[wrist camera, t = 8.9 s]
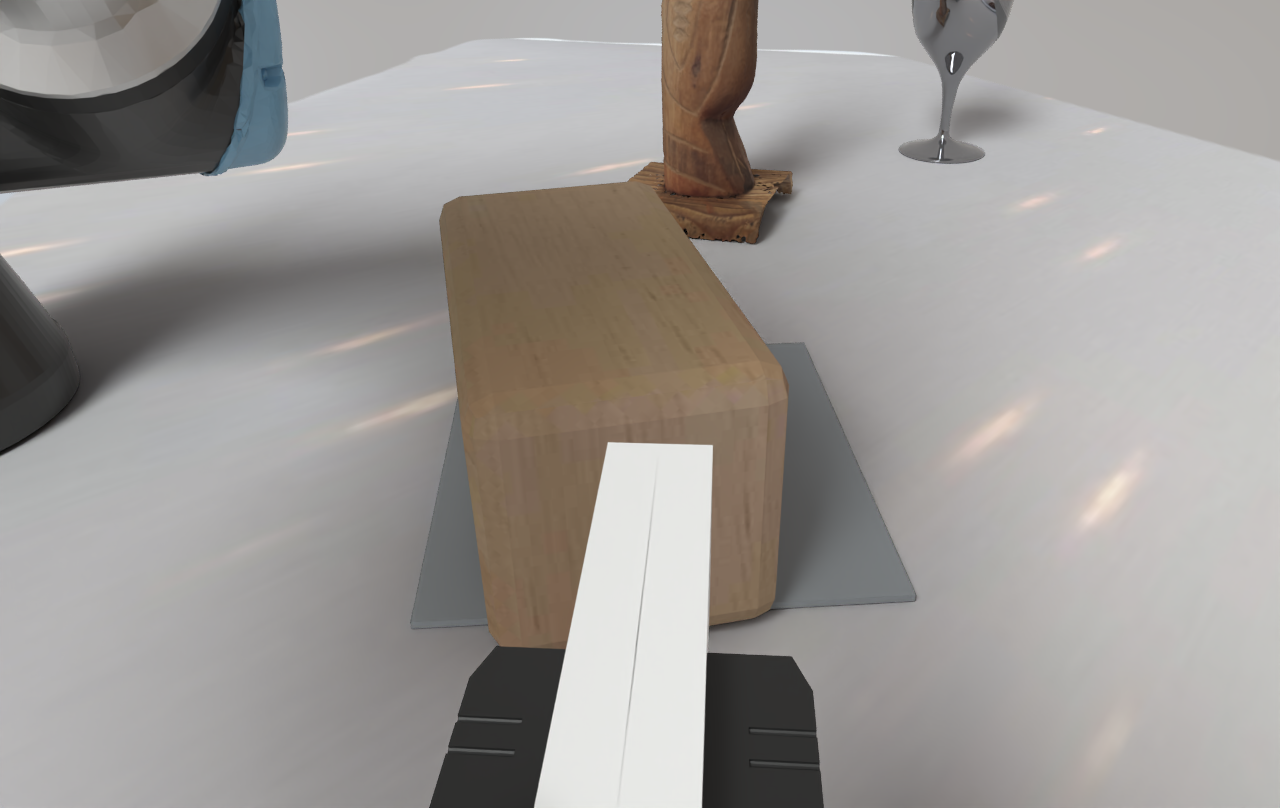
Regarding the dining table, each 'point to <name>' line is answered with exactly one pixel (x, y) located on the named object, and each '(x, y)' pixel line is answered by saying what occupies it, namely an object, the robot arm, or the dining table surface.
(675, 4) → the bird sculpture
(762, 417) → the wooden block
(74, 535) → the dining table surface
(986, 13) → the wine glass
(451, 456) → the mat
